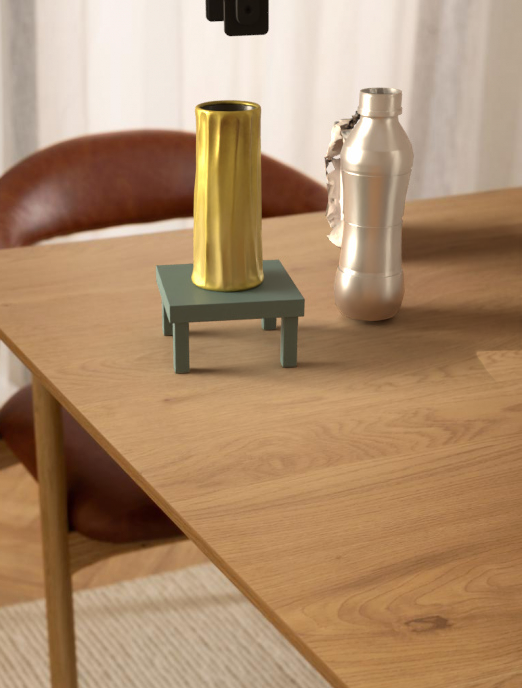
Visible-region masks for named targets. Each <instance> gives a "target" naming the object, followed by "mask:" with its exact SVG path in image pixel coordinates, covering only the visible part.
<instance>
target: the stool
mask: <svg viewBox="0 0 522 688" xmlns="http://www.w3.org/2000/svg"><path fill="white" fill-rule="evenodd" d="M193 267H194V263H178V264H176V263H175V264H157V265H155V282H156V285H157V289H158V291H159V295H160V297H161V331H162V334H163V336H172V355H173V359H172V360H173V371H174V373H175V374H187V373H190V323H205V322H206V323H208V322H226V321H227V322H228V321H243V320H244V321H245V320H260V325H261V328H262V330H263V331H271V330H277V321H278V320H277V319H280V348H279V351H280V352H279V363H280V365H281V367H282V368H297V366H298V340H299V339H298V335H299V318H300V317H302V318H303V317H305V307H306V306H305V305H306V304H305V303H306V299H305V297H304V296H303V294H302V293H301V291H300V289H299V288H298V287H297V285H296V283H295V282H294V280H293V279H292V277H291V276H290V274H289V272H288V271H287V269H286V268H285V267H284V265H283V264H282V262H281V261H280V259H263V274H264V280H263V282H262V283H261V284H260V285H259V286H257V287H255V288H252V289H249V290H244V291H235V292H219V291H211V290H206V289H202V288H200V287H198V286H196V285H195V284H194V283H193V282H192V279H191V276H192V272H193Z"/></svg>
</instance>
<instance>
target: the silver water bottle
mask: <svg viewBox="0 0 522 688" xmlns="http://www.w3.org/2000/svg"><path fill="white" fill-rule="evenodd" d="M402 102H403V91H402V90H401V89H398V88H393V87H366V88H362V89H360V90H359V95H358V106H357V110H356V111H357V113H358V114H360V115H361V116H360V119H359V120H358V121H357V124H355V125H354V128H353V129H352V131H351V132H350V134H349V135H348V137H347V139H346V140H345V142H344V143H343V147H342V150H341V153H340V155H339V156H340V157H339V158H340V164H341V175H342V186H343V213H344V218H343V236H342V243H341V247H340V254H339V261H338V265H337V268H336V272H335V275H334V282H333V297H334V305H335V306H336V308H337V310H338V311H339V313H340V314H341V315H342V316H343V317H346V318H349V319H353V320H358V321H366V322H374V321H375V322H376V321H384V320H387V319H391V318H393V317H394V316H396V314H397V313H398V311H399V310H401V307H402V304H403V300H404V295H405V275H404V269H403V248H402V247H403V235H402V234H403V225H404V220H403V217H404V215H405V207H406V199H407V194H408V189H409V185H410V180H411V175H412V168H413V166H414V157H415V153H414V148H413V144H412V142H411V140H410V139H409V136H408V134H407V132H406V131H405V128H403V126H402V124H401V122H400V120H399V116H401V115H402V114H403V107H402V105H403V104H402Z"/></svg>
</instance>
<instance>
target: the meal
mask: <svg viewBox="0 0 522 688" xmlns="http://www.w3.org/2000/svg"><path fill="white" fill-rule="evenodd" d="M360 116H361V115H360V114H358V113H357V110H355V113H354V114H352V115H351V118H340V119H339V121H338V120H336V121H334V122H333V124H332V129H331V131H330V138H331V139H330V142H329V144H328V147H327V148H328V149H327V151H326V155H325V156H324V157H323V158H324V171H325V177H326V181H327V182H326V189H327V190H326V191H327V198H328V199H327V200H328V202H327V204H326V209H325V215H324V216H325V217H326V221H327V222H328V224H329V226H330V229H332V230H330V233H328V234H326V237H327V239H328V240H329V242H331V243H332V244H333V245H335V246H336V247H338V248H341V243H342V236H343V218H344V213H343V186H342V175H341V164H340V157H338V158H334V157H337V156H340V153H341V150H342V147H343V143H344V142H345V140H346V139H347V137H348V135H349V134H350V132H351V131H352V130H353V128H354V127H355V126H356V124H357V123H358V122H359V120H360ZM330 163H332V165H333V168H334V170H332V171H330V172H328V170H327V168H328V167H329V165H330Z"/></svg>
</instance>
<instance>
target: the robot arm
mask: <svg viewBox="0 0 522 688" xmlns="http://www.w3.org/2000/svg"><path fill="white" fill-rule="evenodd" d="M269 1H270V0H205V18H206V20H207V21H209V22H210V23H216V22H223V32H224V34H225V35H226V36H228V37H248V36H266V35H267V34H268V33H269V30H270V2H269Z"/></svg>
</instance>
